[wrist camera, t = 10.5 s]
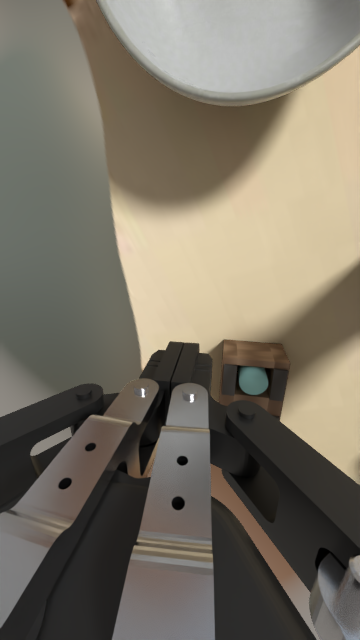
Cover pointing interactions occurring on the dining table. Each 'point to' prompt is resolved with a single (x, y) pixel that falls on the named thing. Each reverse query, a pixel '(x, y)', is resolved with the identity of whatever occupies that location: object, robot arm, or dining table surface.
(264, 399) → the socket block
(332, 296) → the dining table surface
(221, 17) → the decorative bowl
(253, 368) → the peg
